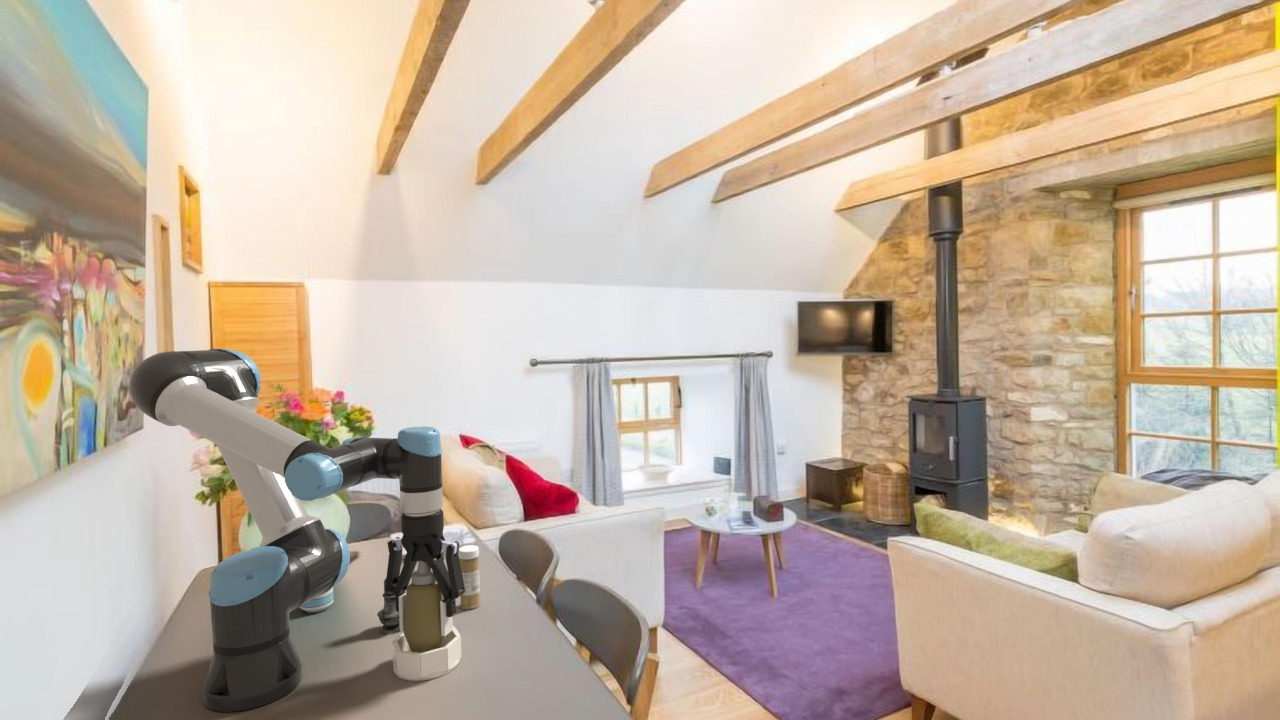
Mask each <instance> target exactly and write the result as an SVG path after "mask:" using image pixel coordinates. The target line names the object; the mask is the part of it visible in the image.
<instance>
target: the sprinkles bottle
mask: <svg viewBox="0 0 1280 720" xmlns="http://www.w3.org/2000/svg"><path fill="white" fill-rule="evenodd" d="M458 555H459V560H460V565H461V571H462V576H463V581H464V586H465V592H464V593H463V594H462V595H461V596H459V599H460V600H459V601H460V604H459V606H460V608H461V609H463V610H473V609H477V608H478V607H479V606H481V600H480V594H481V593H480V592H481V587H480V586H481V585H480V568H479V555H480V548H479V546H478V545H473V544H471V545H470V544H469V545H464V546H461V547H459V552H458Z"/></svg>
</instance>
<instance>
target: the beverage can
mask: <svg viewBox="0 0 1280 720" xmlns="http://www.w3.org/2000/svg"><path fill="white" fill-rule="evenodd" d="M333 603H334V587H332V588H331V589H330V590H329V591H328V592H325V593H324V594H322V595H319V596H317V597H316V598H314V599H312V600H310V601H309V602H307V603H305V604H303V605H302V606H300V607H299V609H301V610H302V611H304V612H306V613H308V614H309V613H310V614H311V613H312V614H313V613H319V612H322V611H326V610H327V609H328V608H329V607H330V606H331V605H332V604H333Z"/></svg>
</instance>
